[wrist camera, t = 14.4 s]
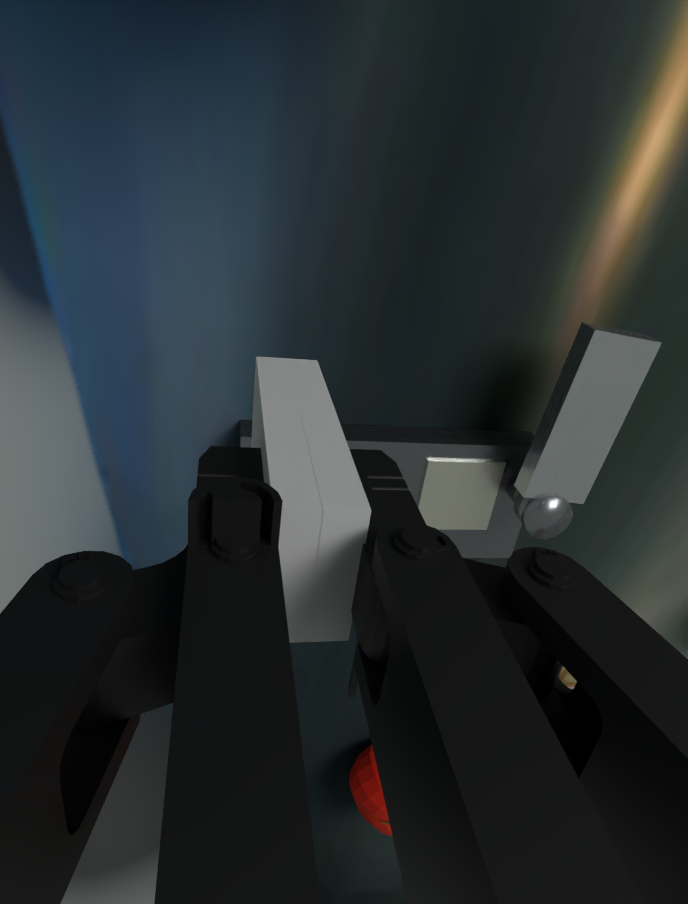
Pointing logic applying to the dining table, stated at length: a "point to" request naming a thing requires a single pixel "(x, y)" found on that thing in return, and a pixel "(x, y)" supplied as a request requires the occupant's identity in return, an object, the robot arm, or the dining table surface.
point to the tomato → (369, 791)
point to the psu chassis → (452, 478)
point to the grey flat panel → (580, 424)
